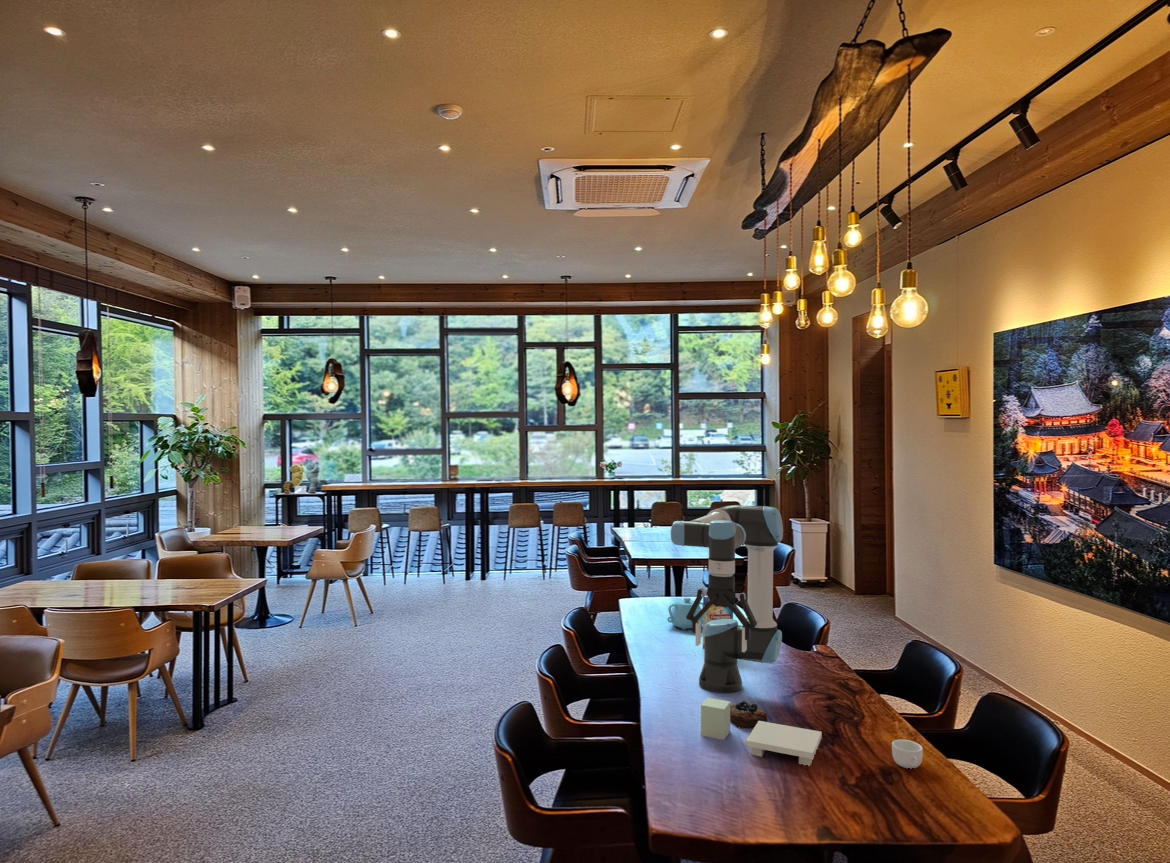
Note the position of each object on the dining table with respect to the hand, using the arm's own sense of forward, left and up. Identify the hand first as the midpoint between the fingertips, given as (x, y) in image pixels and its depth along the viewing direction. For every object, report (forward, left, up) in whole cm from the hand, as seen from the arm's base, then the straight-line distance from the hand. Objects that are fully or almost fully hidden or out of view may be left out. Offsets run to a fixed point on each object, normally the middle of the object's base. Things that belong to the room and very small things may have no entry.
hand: (720, 647), depth 213 cm
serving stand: (-3, +18, -28) cm, 33 cm away
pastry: (-21, +3, -28) cm, 35 cm away
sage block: (-7, -3, -28) cm, 29 cm away
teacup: (-9, +50, -28) cm, 58 cm away
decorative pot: (-122, -49, -28) cm, 135 cm away
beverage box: (-92, -26, -28) cm, 100 cm away
